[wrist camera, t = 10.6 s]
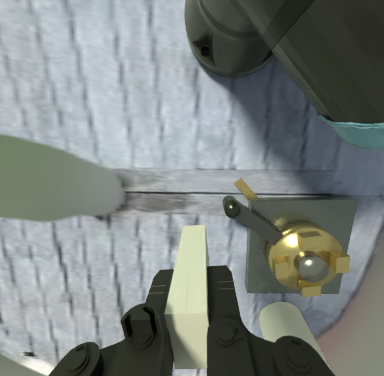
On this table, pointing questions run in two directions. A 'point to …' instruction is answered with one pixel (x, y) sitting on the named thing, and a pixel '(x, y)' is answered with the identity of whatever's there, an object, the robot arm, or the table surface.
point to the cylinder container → (286, 324)
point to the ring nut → (295, 250)
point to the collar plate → (288, 214)
